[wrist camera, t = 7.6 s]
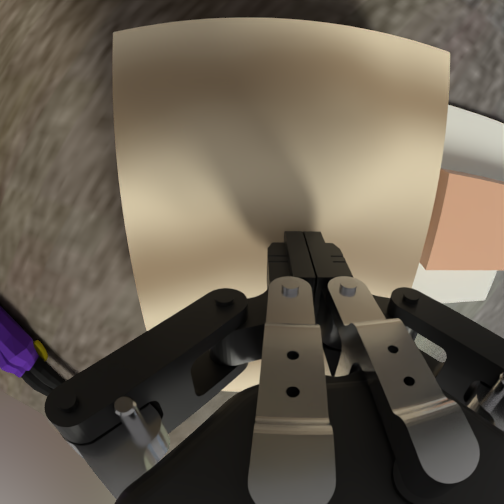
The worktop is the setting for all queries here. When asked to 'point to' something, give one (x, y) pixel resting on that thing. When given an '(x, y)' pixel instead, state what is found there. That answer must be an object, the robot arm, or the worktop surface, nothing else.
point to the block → (272, 152)
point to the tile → (465, 224)
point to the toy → (25, 356)
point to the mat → (473, 162)
